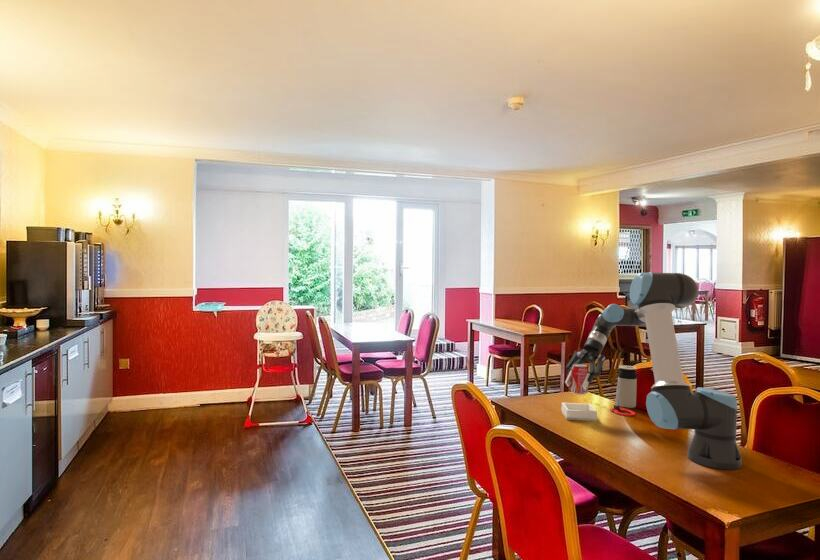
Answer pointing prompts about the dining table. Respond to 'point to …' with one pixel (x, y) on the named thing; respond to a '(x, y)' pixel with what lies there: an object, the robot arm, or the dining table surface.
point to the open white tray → (579, 412)
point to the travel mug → (627, 386)
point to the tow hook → (617, 407)
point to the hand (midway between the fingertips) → (575, 385)
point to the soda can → (578, 378)
